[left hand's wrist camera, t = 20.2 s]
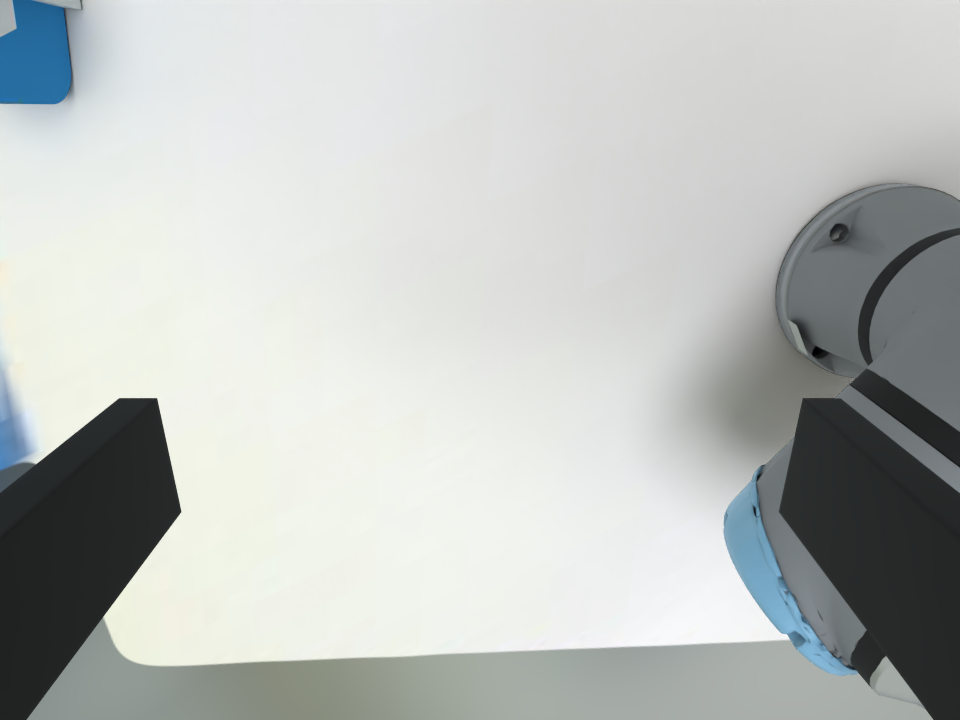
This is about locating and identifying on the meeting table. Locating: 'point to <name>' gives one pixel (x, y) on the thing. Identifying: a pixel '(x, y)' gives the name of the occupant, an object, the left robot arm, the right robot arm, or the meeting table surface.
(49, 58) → the logo
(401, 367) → the meeting table surface
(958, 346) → the left robot arm
